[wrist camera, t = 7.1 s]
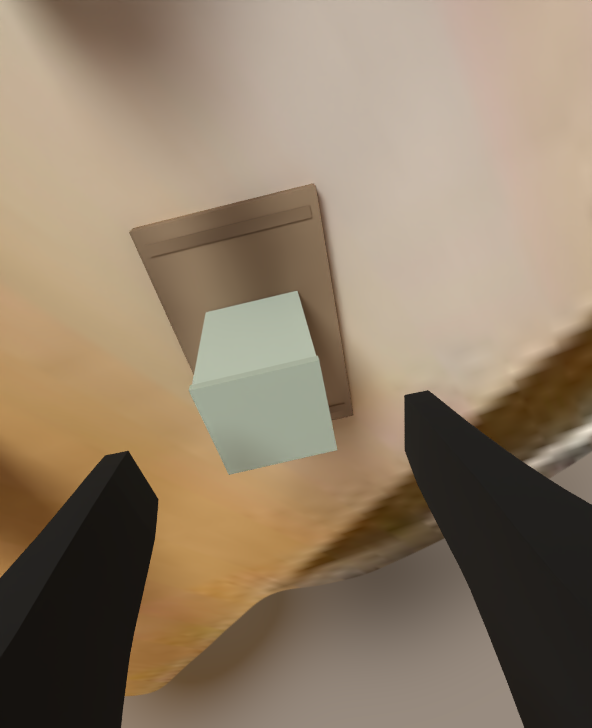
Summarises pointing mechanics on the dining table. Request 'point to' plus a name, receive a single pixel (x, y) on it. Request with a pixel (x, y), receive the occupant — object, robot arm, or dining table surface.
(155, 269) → the board
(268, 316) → the block
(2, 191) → the dining table surface
